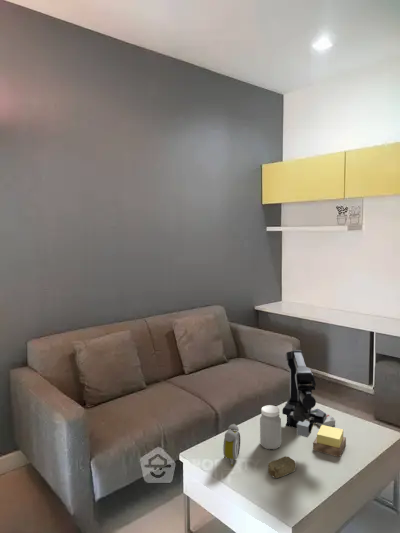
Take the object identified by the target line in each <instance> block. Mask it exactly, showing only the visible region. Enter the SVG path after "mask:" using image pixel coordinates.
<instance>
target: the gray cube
mask: <svg viewBox="0 0 400 533" xmlns="http://www.w3.org/2000/svg"><path fill="white" fill-rule="evenodd" d="M309 421H310V420H309ZM309 421H308V420H305V421H304V422H301V421H299V422H298V423H297V428H296V435H297V436H300V437H304V438H309V436H310V434H311V433H312V432H311V433H309V425H310V423H309Z"/></svg>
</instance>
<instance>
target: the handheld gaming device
mask: <svg viewBox="0 0 400 533" xmlns="http://www.w3.org/2000/svg"><path fill="white" fill-rule="evenodd" d="M317 411H320V412H324V413H326V415H327V419H326V420H325V422H324V423H323V424H320V423H315V424H316V425H318V426H319V427H321V425H325V426H330V427H334V426H335V425H336V419H335V418H334V416H332V415H330V414H329V413H327V412H325V411H324V410H322V409H321V408H318V407H315V408H312V409H311V413H317ZM310 420H311V417H310V418H309V421H310Z"/></svg>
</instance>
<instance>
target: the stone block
mask: <svg viewBox="0 0 400 533" xmlns="http://www.w3.org/2000/svg"><path fill="white" fill-rule="evenodd" d="M267 464H268V465H267V473H268V474H269V476H271V477H273V478H274V479H278V478H282V477H284V476H286V475H289V474H291V473H294V472H295V470H296V460H294V459H293V458H291V457H290V456H286V455H285V456H282V457H279V458H277V459H275V460H272V461H269V462H268V463H267Z"/></svg>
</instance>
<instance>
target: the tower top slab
mask: <svg viewBox="0 0 400 533" xmlns="http://www.w3.org/2000/svg"><path fill="white" fill-rule="evenodd" d="M316 437H317V443H321V444H325V445H329V446H333V447H337V448H339V447H340V445H341V442H342V440H343V437H344V429H342V428H338V427H334V426H325V425H321V426H319V430H318V432H317V433H316Z"/></svg>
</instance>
